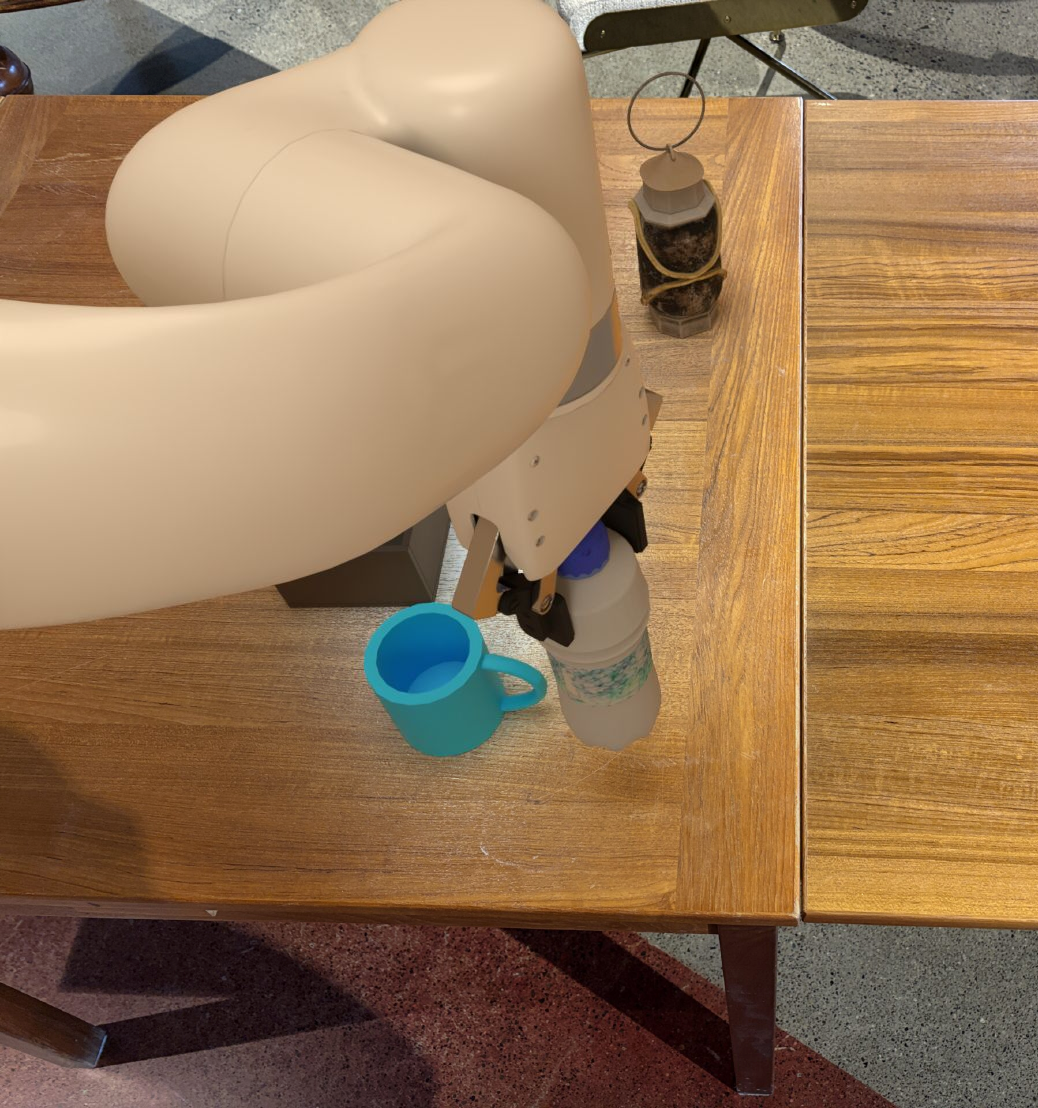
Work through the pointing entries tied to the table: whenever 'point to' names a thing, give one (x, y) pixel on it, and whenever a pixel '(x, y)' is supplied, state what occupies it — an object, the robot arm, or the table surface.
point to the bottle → (605, 644)
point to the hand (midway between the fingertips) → (585, 583)
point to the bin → (380, 572)
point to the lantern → (677, 237)
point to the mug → (443, 679)
